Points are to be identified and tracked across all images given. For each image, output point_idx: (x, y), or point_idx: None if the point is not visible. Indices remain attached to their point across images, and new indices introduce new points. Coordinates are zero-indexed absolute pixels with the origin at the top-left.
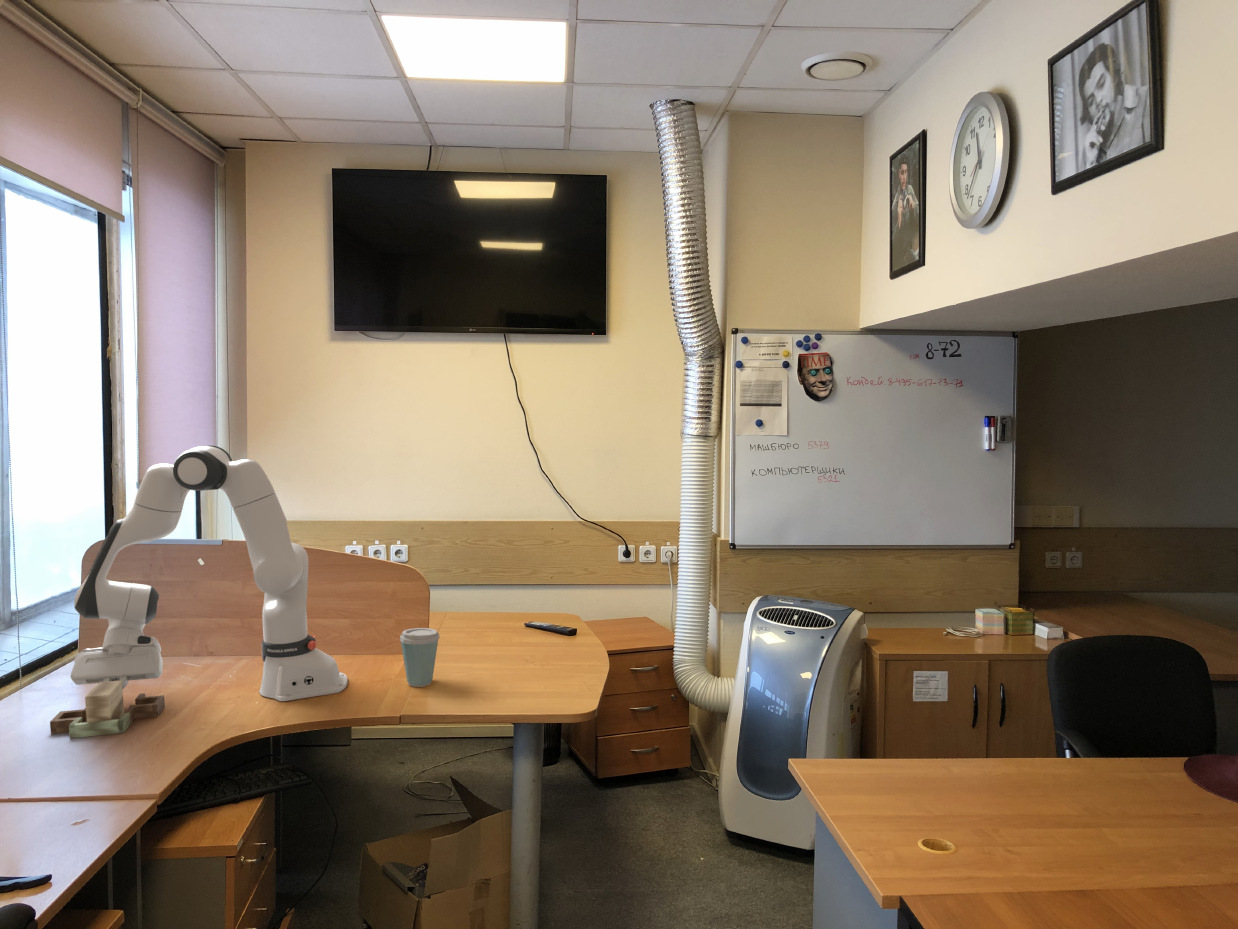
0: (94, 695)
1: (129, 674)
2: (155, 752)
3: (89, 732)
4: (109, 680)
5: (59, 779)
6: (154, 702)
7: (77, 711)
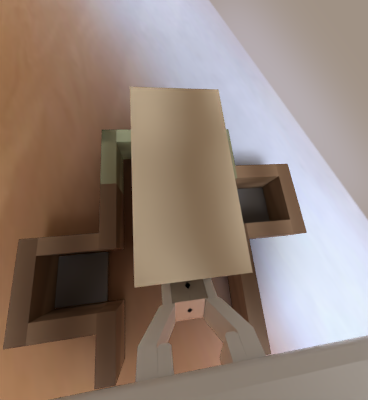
0: (187, 93)
1: (104, 391)
2: (19, 46)
3: None
4: (227, 346)
5: (157, 7)
6: (32, 263)
7: (259, 223)
